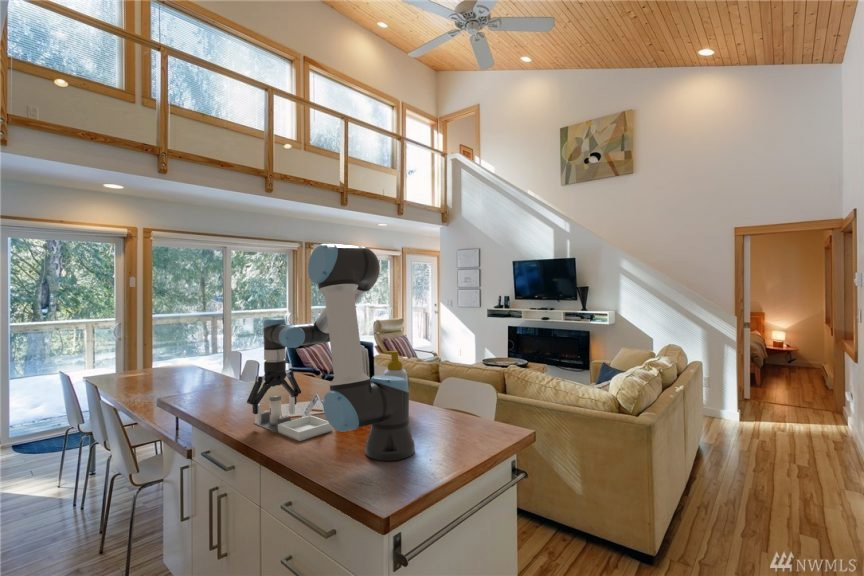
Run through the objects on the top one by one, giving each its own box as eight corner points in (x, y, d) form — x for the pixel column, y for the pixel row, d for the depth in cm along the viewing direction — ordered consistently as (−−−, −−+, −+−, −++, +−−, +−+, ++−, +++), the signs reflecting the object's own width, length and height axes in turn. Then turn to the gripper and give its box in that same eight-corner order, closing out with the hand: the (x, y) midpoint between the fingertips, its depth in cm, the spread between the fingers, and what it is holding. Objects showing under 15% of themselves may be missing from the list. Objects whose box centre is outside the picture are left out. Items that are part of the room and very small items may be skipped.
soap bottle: (384, 411, 174) (384, 349, 174) (406, 411, 174) (406, 349, 174) (382, 418, 165) (382, 353, 165) (406, 418, 166) (405, 353, 165)
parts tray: (332, 430, 151) (332, 422, 151) (299, 441, 141) (299, 432, 141) (310, 423, 160) (310, 415, 160) (277, 432, 150) (277, 424, 150)
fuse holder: (297, 426, 156) (297, 414, 156) (274, 433, 150) (274, 420, 150) (276, 418, 166) (275, 407, 166) (253, 424, 159) (253, 412, 159)
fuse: (283, 423, 158) (283, 396, 158) (273, 426, 155) (272, 398, 155) (277, 421, 161) (277, 394, 161) (267, 424, 158) (266, 396, 158)
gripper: (299, 355, 170) (299, 408, 170) (236, 364, 151) (236, 424, 151) (310, 356, 165) (310, 412, 165) (246, 366, 146) (247, 428, 146)
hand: (275, 418), depth 158 cm, fingers open, 13 cm apart
